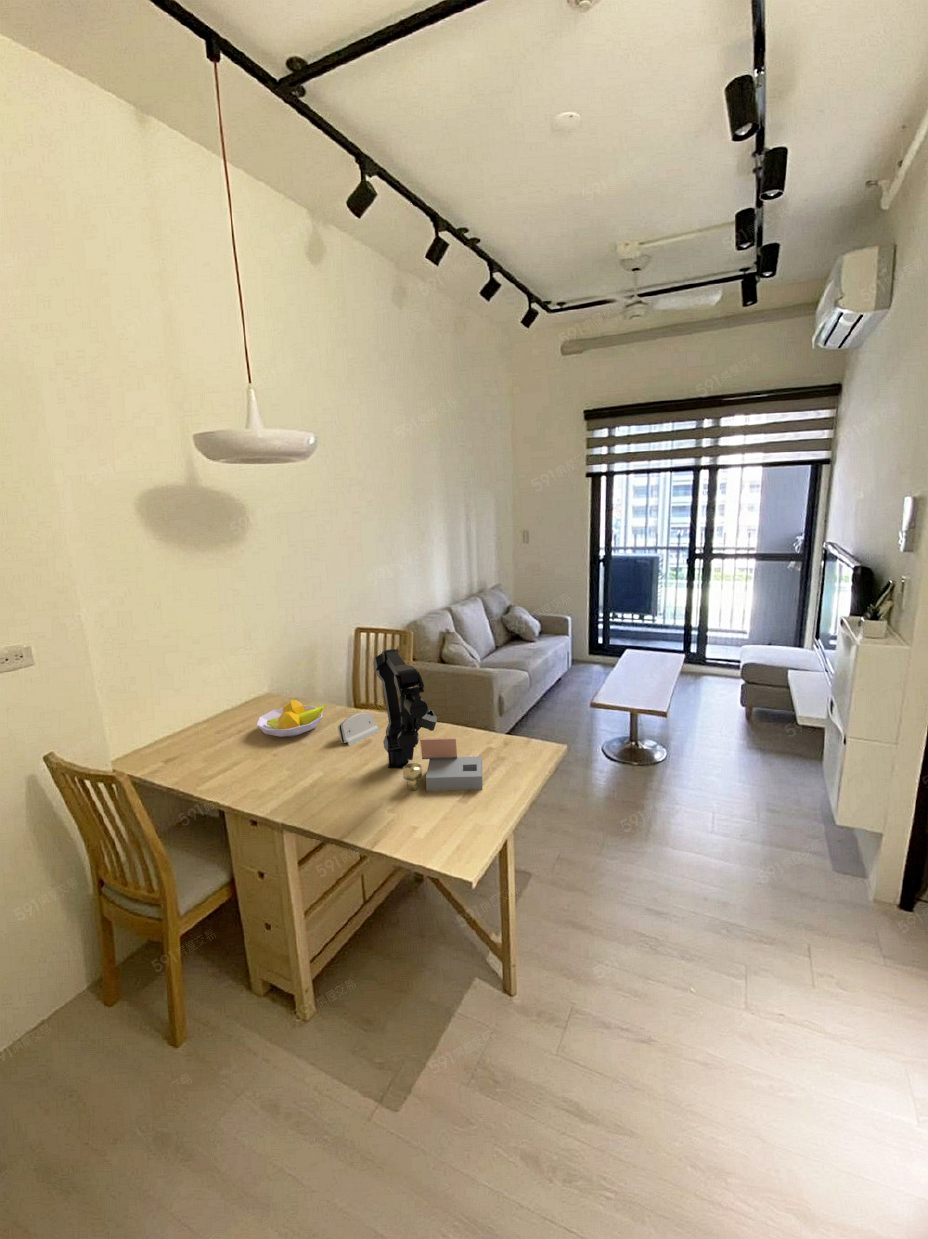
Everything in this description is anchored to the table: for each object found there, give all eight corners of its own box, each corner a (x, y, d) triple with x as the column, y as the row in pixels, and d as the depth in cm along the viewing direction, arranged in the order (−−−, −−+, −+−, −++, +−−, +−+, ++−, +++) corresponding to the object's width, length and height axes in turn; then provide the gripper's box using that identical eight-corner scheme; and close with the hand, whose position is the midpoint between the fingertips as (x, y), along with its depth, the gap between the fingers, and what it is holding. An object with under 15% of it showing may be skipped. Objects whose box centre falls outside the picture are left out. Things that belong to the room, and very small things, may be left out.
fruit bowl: (244, 739, 224) (241, 713, 222) (289, 714, 249) (286, 690, 246) (300, 748, 213) (296, 720, 211) (341, 721, 238) (338, 697, 235)
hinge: (348, 746, 213) (340, 721, 213) (341, 747, 216) (334, 722, 216) (380, 731, 226) (373, 707, 226) (373, 732, 229) (366, 709, 229)
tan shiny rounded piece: (403, 792, 177) (401, 772, 175) (405, 783, 183) (404, 763, 181) (421, 792, 177) (420, 771, 175) (423, 782, 183) (422, 762, 181)
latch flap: (422, 760, 189) (420, 740, 185) (422, 757, 190) (420, 738, 186) (457, 759, 189) (455, 739, 185) (457, 756, 190) (455, 737, 186)
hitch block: (426, 790, 178) (425, 777, 177) (430, 769, 191) (429, 757, 190) (482, 789, 177) (481, 776, 176) (482, 768, 191) (481, 756, 190)
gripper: (432, 718, 165) (435, 766, 168) (436, 696, 183) (439, 740, 186) (395, 719, 165) (399, 767, 168) (403, 697, 183) (406, 741, 187)
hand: (412, 753), depth 177 cm, fingers open, 9 cm apart
